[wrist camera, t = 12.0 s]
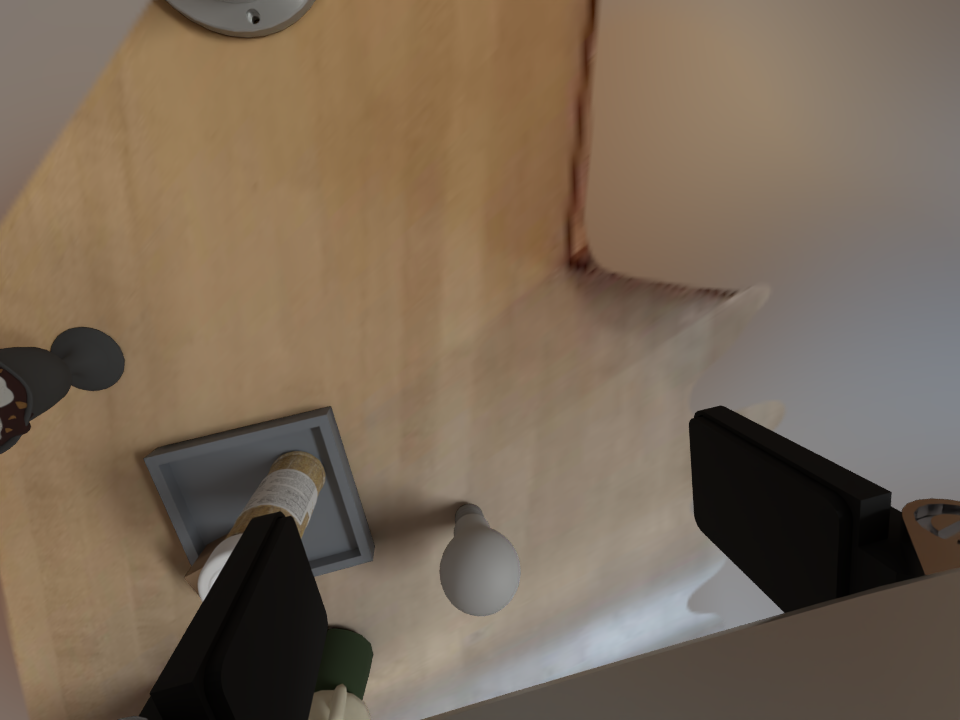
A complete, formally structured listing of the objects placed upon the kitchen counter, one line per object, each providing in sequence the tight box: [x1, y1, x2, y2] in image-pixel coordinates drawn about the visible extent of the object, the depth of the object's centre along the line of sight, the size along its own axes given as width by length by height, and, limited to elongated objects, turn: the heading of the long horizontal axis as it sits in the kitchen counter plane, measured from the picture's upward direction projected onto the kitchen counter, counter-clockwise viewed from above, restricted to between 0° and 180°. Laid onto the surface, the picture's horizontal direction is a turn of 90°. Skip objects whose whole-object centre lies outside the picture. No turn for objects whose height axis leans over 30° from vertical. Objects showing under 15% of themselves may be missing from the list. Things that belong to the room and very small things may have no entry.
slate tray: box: [144, 406, 375, 577], centre depth 38 cm, size 14×14×2 cm
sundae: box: [0, 327, 124, 454], centre depth 27 cm, size 7×7×15 cm
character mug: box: [308, 628, 373, 720], centre depth 37 cm, size 11×7×13 cm, turn 161°
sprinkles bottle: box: [198, 451, 325, 602], centre depth 31 cm, size 5×5×13 cm
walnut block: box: [184, 533, 229, 595], centre depth 37 cm, size 4×4×4 cm
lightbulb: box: [440, 504, 521, 616], centre depth 36 cm, size 6×6×11 cm
